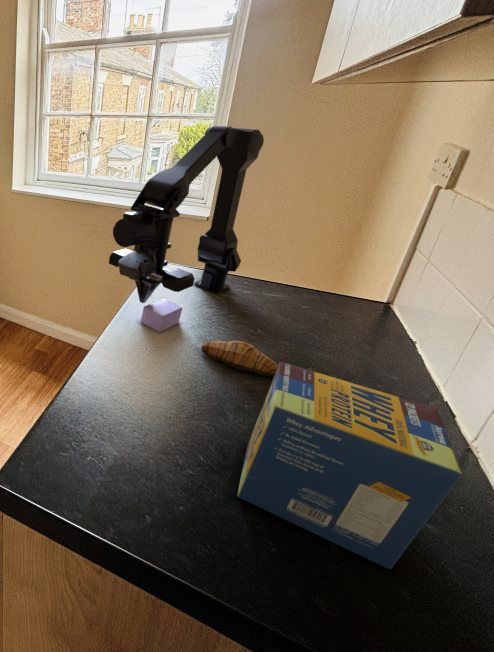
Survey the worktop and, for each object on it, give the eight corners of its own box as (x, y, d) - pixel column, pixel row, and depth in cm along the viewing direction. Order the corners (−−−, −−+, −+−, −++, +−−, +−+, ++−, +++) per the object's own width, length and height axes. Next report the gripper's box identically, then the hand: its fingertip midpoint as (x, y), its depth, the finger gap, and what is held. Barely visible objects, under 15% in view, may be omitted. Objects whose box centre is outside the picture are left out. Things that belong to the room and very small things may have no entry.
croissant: (195, 359, 78) (201, 337, 76) (204, 344, 83) (209, 323, 81) (276, 388, 71) (285, 365, 69) (280, 369, 76) (289, 347, 73)
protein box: (245, 445, 59) (278, 359, 52) (381, 501, 51) (442, 408, 44) (235, 498, 52) (272, 405, 45) (393, 573, 44) (468, 474, 37)
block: (159, 313, 94) (163, 298, 93) (178, 322, 91) (182, 307, 89) (140, 322, 91) (143, 306, 89) (159, 332, 87) (163, 316, 85)
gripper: (96, 233, 89) (88, 295, 96) (169, 259, 75) (154, 330, 82) (129, 225, 95) (120, 284, 102) (203, 248, 81) (186, 315, 88)
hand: (142, 302), depth 93 cm, fingers closed
